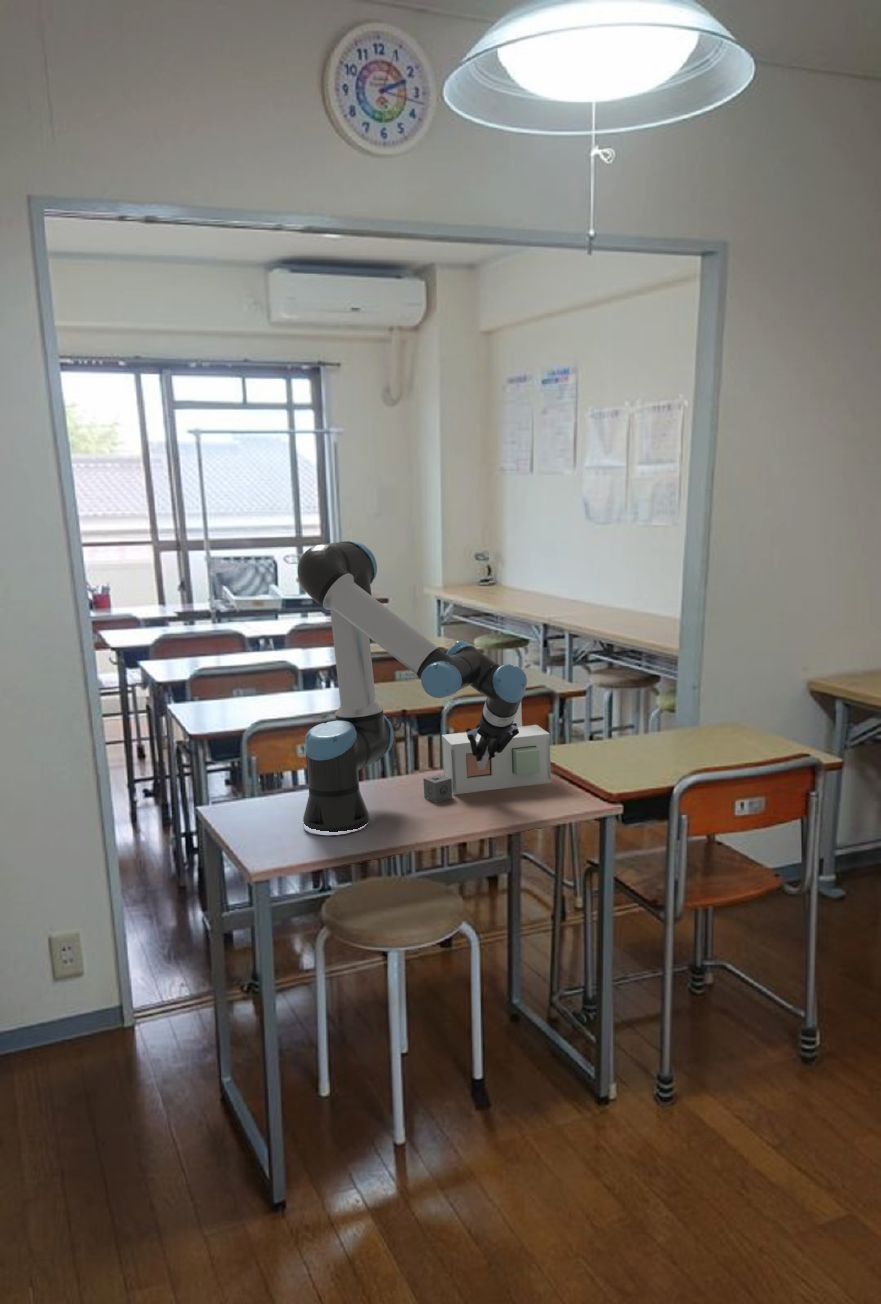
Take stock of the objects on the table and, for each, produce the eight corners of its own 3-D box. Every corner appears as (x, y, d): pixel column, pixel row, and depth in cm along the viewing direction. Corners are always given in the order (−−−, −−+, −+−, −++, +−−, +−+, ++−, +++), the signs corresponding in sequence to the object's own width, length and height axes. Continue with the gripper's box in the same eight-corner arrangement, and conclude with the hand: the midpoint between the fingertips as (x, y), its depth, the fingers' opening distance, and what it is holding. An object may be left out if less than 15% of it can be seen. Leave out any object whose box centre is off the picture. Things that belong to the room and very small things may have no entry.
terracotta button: (467, 776, 231) (466, 753, 230) (460, 769, 238) (459, 746, 237) (490, 774, 232) (489, 751, 231) (482, 766, 239) (481, 744, 238)
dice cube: (424, 797, 229) (423, 778, 228) (440, 793, 232) (439, 774, 231) (435, 802, 225) (435, 783, 224) (452, 797, 228) (451, 778, 227)
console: (453, 794, 230) (451, 744, 228) (444, 782, 240) (441, 734, 237) (550, 782, 236) (549, 733, 234) (537, 771, 245) (536, 724, 243)
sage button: (517, 775, 230) (516, 752, 229) (508, 767, 237) (507, 745, 236) (539, 772, 231) (539, 749, 230) (530, 765, 238) (529, 742, 237)
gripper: (475, 731, 206) (458, 780, 225) (529, 725, 209) (509, 774, 228) (467, 703, 211) (452, 754, 229) (521, 698, 214) (501, 748, 232)
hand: (480, 764), depth 229 cm, fingers closed
